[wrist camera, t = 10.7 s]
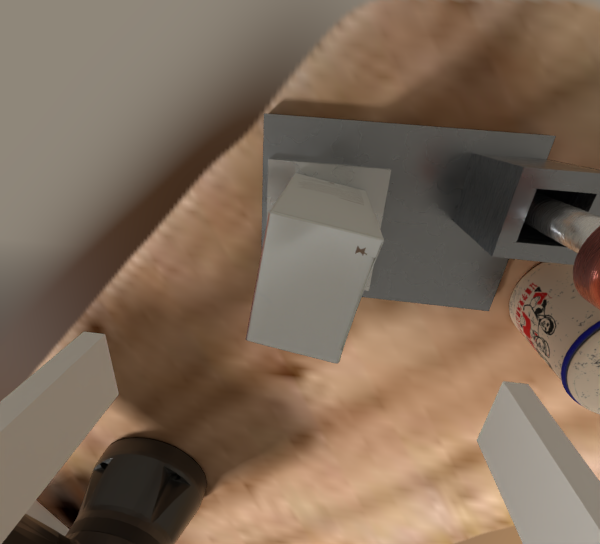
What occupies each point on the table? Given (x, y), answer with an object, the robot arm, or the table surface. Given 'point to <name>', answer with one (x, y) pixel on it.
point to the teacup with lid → (561, 329)
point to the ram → (572, 239)
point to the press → (433, 199)
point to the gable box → (46, 518)
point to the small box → (313, 267)
